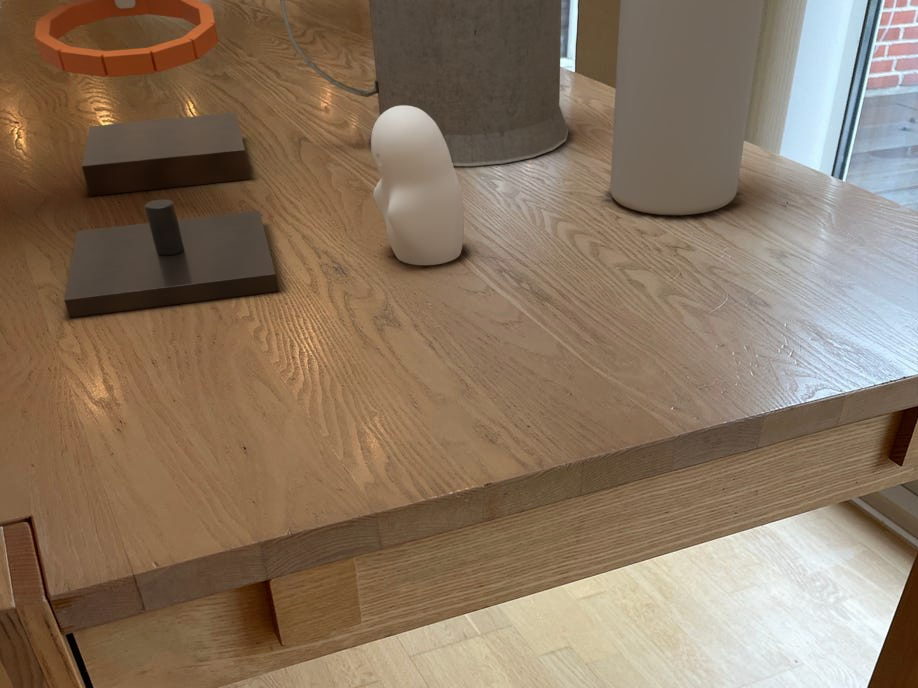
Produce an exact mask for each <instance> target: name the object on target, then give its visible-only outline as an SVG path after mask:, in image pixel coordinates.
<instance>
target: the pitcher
mask: <svg viewBox="0 0 918 688" xmlns="http://www.w3.org/2000/svg"><path fill="white" fill-rule="evenodd" d="M279 1H280V8H281V13H282V18H283V21H284V25H285V29H286V32H287V35H288V37H289V40H290V42H291V44H292V45H293V48H294V49H295V50H296V52H297V53H298V55H299V56H300V57H301V58H302V60H303V61H304V62H305V63H306V64H307V65H308V66H309V67H310V68H311V69H312V70H313V71H314V72H315V73H317V74H318V75H319V76H320V77H321V78H323V79H324V80H326V81H327V82H328V83H330V84H331V85H333V86H335V87H337V88H339V89H341V90H343V91H345V92H347V93H350V94H353V95H356V96H359V97H366V98H369V97H371V96H374V95H376V94H377V100H378V102H377V103H378V110H379V111H378V112H379V114H378V118H379V117H380V115H381V114H382V113H384V112H385V111H386V110H388V109H390V108H392V107H395V106H401V105H406V106H413V107H416V108H419V109H421V110H422V111H424V112H425V113H426V114H427V115H429V116H430V117H431V118H432V119H433V120H434V122H435V123H436V124H437V126H438V128H439V129H440V131H441V133H442V136H443V138H444V140H445V142H446V144H447V147H448V150H449V153H450V156H451V160H452V163H453V167H482V166H492V165H501V164H502V165H503V164H509V163H512V162H513V163H514V162H518V161H523V160H528V159H532V158H535V157H538V156H541V155H543V154H547V153H549V152H552V151H555V150H556V149H557V148H559V147H560V146H561V145H563V144H564V143H565V142H566V141H567V139H568V133H569V129H568V127H567V124H566V120H565V118H564V115H563V114H564V113H563V111H562V109H561V106H560V101H561V100H560V99H561V98H560V97H561V95H560V93H561V47H562V44H561V43H562V3H563V2H562V1H563V0H368V3H369V4H368V5H369V17H370V27H371V38H372V48H373V58H374V59H373V60H374V68H375V79H373V88H371V89H370V90H361V89H357V88H354V87H352V86H349V85H347V84H344V83H343V82H341V81H339V80H337V79H334V78H333V77H331V76H330V75H329V74H327V73H325V71H323V70H322V69H321V68H320V67H318V66H317V65H316V64H315V63H314V62H313V61H312V60H311V59H310V57H308V56H307V55H306V53H305V52H304V51H303V50H302V48H301V47H300V45H299V44H298V42H297V40H296V39H295V37H294V34H293V32H292V29H291V26H290V21H289V18H288V13H287V9H286V3H285V0H279Z"/></svg>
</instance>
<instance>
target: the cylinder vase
mask: <svg viewBox="0 0 918 688" xmlns="http://www.w3.org/2000/svg"><path fill="white" fill-rule="evenodd" d="M619 2H620V3H619V6H620V7H619V22H618V36H617V37H618V40H617V56H616V57H617V59H616V74H615V90H614V91H615V93H614V110H613V126H612V127H613V128H612V145H611V146H612V147H611V162H610V163H611V165H610V180H609V181H610V182H609V191H610V192H609V193H610V195H611V197H612V198H613V199H614V200H615V201H616V202H617V203H618V204H619V205H621V206H623V207H625V208H627V209H630V210H633V211H636V212H640V213H643V214H644V213H645V214H651V215H657V216H658V215H659V216H690V215H698V214H704V213H709V212H713V211H716V210H719V209H721V208H724V207H726V206H727V205H729V204H730V203H731V202H732V201H733V200H734V198H735V197H736V195H737V193H738V187H739V180H740V173H741V165H742V159H743V152H744V143H745V137H746V130H747V122H748V118H749V117H748V115H749V108H750V101H751V95H752V86H753V80H754V73H755V65H756V59H757V54H758V53H757V51H758V44H759V38H760V31H761V23H762V16H763V9H764V4H765V3H764V2H765V0H620V1H619Z"/></svg>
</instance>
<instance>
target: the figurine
mask: <svg viewBox="0 0 918 688" xmlns="http://www.w3.org/2000/svg"><path fill="white" fill-rule="evenodd" d="M370 151H371V157H372V160H373V163H374V165H375V167H376V169H377V171H378V174H379V175H380V178H379V181H378V182H377V184H376V185H375V188H374V189H373V201H374V203H375V206H376V208H377V210H378V212H379V214H380V215H381V217H382V219H383V221H384V223H385V229H386V235H387V239H388V242H389V245H390V248H391V250H392V252H393V254H394V255H395V257H396V259H397V260H398V261H400V262H403V263H405V264H409V265H414V266H435V265H440V264H446V263H448V262H449V263H450V262H451V261H454V260H456V259H457V258H458V257H460V256H461V254H462V250H463V244H464V235H465V233H464V232H465V208H464V200H463V194H462V188H461V185H460V181H459V179H458V178H459V177H458V175H457V173H456V169H455V168H454V167H455V166H453V163H452V160H451V156H450V153H449V150H448V147H447V144H446V142H445V140H444V138H443V136H442V133H441V131H440V129H439V128H438V126H437V124H436V123H435V122H434V120H433V119H432V118H431V117H430V116H429V115H427V114H426V113H425V112H424V111H422V110H421V109H419V108H416V107H413V106H406V105H401V106H395V107H392V108H390V109H388V110H386V111H385V112H384V113H382V114H381V115H380V117H379V116H378V117H377V119H376V121H375V123H374V125H373V127H372V132H371V137H370Z"/></svg>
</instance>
